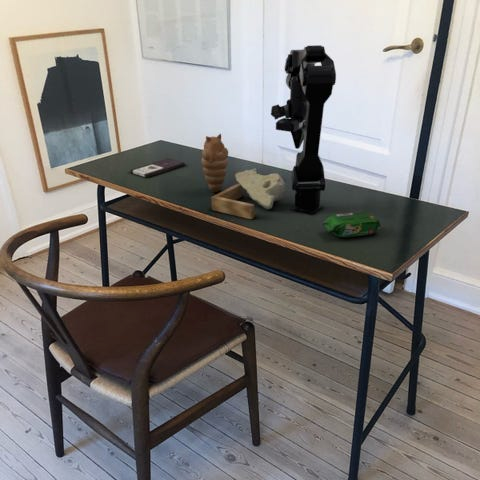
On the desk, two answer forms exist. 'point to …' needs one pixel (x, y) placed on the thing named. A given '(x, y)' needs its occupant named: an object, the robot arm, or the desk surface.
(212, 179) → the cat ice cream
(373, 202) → the desk surface
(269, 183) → the pale lumpy rock
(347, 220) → the snack package
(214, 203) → the corner stop
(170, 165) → the chocolate bar
